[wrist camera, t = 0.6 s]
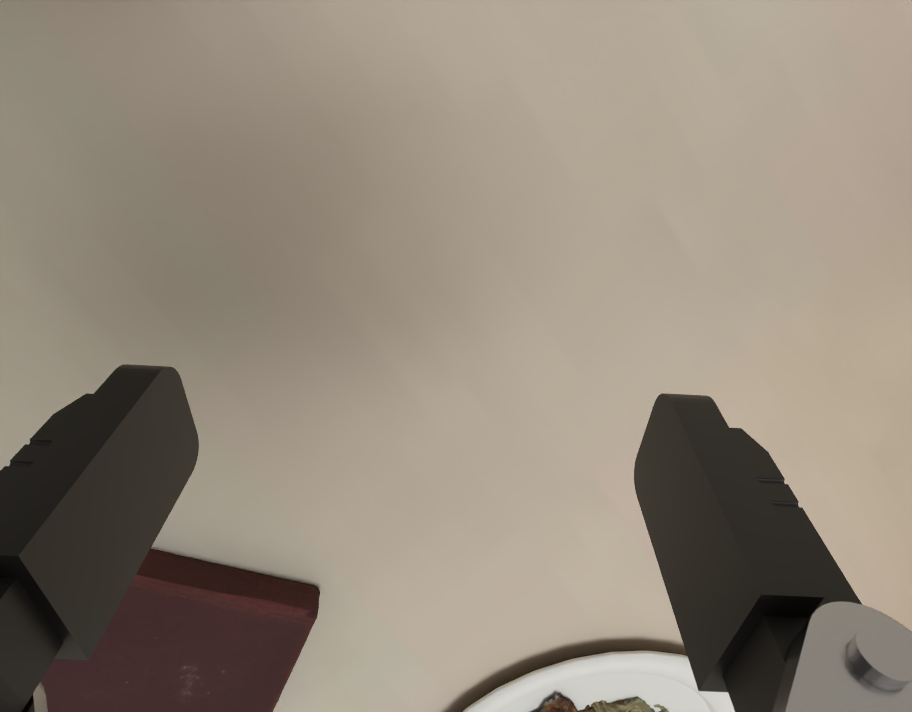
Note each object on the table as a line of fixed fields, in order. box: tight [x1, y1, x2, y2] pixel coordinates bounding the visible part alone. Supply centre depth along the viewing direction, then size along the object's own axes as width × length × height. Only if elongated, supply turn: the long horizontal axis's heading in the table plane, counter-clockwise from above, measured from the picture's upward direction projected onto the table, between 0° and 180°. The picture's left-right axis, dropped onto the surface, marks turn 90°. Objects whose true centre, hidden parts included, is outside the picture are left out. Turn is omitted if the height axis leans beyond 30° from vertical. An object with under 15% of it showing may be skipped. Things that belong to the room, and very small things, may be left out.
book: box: [41, 549, 320, 712], centre depth 34 cm, size 14×22×4 cm, turn 65°
